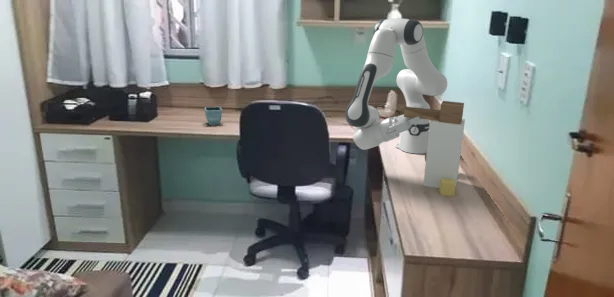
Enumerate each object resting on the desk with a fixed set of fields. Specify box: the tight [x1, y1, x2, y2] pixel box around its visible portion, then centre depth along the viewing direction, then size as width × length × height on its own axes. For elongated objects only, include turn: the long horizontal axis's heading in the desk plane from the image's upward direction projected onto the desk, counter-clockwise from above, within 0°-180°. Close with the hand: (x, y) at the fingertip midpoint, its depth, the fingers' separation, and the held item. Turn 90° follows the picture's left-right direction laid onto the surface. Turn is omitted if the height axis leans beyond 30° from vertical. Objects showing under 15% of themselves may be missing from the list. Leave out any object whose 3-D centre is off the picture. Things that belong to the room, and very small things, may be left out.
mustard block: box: [438, 179, 457, 197], centre depth 191 cm, size 5×5×5 cm
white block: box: [423, 118, 466, 189], centre depth 198 cm, size 12×12×26 cm
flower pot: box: [204, 106, 223, 126], centre depth 279 cm, size 9×9×9 cm
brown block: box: [403, 100, 465, 124], centre depth 195 cm, size 7×22×7 cm, turn 69°
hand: (421, 115), depth 197 cm, fingers open, 8 cm apart
